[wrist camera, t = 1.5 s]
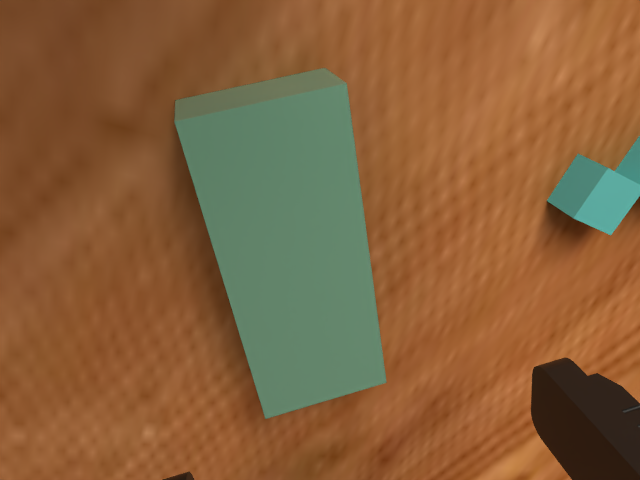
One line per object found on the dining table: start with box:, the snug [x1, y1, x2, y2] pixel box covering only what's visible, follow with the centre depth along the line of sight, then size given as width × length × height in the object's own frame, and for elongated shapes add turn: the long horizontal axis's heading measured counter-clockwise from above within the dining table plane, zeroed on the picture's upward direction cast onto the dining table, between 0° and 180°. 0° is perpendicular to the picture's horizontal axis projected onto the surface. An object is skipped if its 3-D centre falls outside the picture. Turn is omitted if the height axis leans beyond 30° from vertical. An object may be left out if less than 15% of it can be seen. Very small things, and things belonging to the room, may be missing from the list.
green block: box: [174, 68, 386, 419], centre depth 19 cm, size 12×5×3 cm, turn 9°
